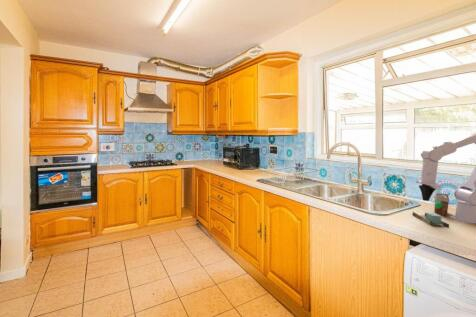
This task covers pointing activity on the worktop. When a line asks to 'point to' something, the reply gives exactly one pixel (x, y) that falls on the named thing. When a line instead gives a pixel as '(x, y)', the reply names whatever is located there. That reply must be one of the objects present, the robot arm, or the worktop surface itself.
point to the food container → (441, 203)
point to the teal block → (434, 218)
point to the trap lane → (430, 221)
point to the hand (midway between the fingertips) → (425, 200)
